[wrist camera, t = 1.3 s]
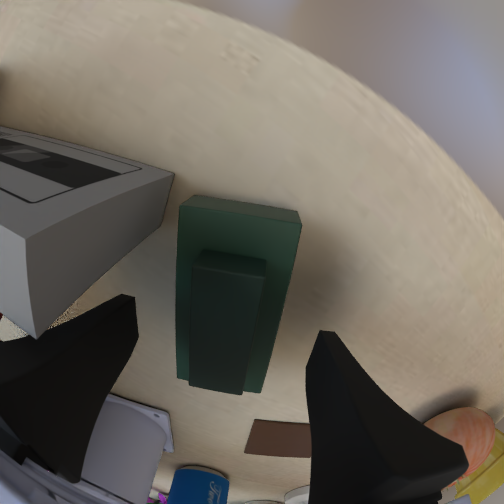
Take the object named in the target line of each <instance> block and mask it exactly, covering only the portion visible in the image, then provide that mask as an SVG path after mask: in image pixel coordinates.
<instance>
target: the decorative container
mask: <svg viewBox="0 0 504 504" xmlns="http://www.w3.org/2000/svg"><path fill="white" fill-rule="evenodd" d="M309 489H310V485H308V486H304V487H300V488H297V489H294V490H292V491H290V492H288V493H287V494H286V495H285V504H308V499H309Z"/></svg>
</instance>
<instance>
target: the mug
mask: <svg viewBox="0 0 504 504" xmlns="http://www.w3.org/2000/svg"><path fill="white" fill-rule="evenodd" d="M244 504H281V503H279V502H273V501H249V502H245V503H244Z"/></svg>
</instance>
